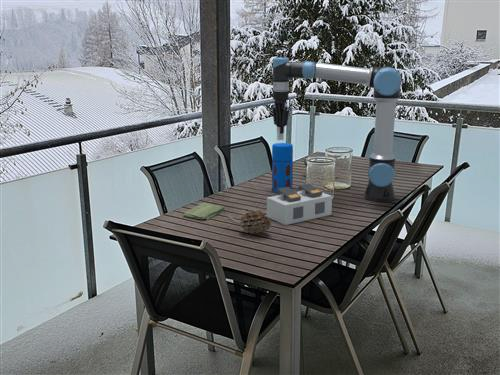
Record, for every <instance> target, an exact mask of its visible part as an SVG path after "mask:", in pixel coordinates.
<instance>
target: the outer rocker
mask: <svg viewBox="0 0 500 375" xmlns="http://www.w3.org/2000/svg"><path fill="white" fill-rule="evenodd" d="M294 191H295V190H294V189H293V188H292V189H291V188H289V187H284V188H278V189H277V192H278V193H277V194H279V195H280V194H283V195H284V198H285V199H286V200H287V201H289V202H293V201H298V200H301V196H300V195H298V194H297V193H296V192H297V191H295V192H294Z"/></svg>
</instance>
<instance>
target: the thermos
mask: <svg viewBox="0 0 500 375" xmlns="http://www.w3.org/2000/svg"><path fill="white" fill-rule="evenodd" d="M271 146H272V147H271V189H272V191H271V192H273V193H274V194H275V193H276V194H279V193H278V192H277V189H278V188H284V187H289V188H291V189H292V190H293V179H294V178H293V173H294V172H293V171H294V170H293V168H294V167H293V166H294V164H293V163H294V160H293V159H294V145H293V143H288V142H287V143H286V142H276V143H273V144H272V145H271Z"/></svg>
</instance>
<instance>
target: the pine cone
mask: <svg viewBox="0 0 500 375" xmlns="http://www.w3.org/2000/svg"><path fill="white" fill-rule="evenodd" d="M226 217H227V219H228V220H229V221H231V222H232V223H233V222H234V224H237V225H240V226H241V228H242V229H243V232H245V233H249V234H253V235H254V233H256V234H260V233H261V232H262V233H265V232H267V230H269V229H270V228H271V227H272V219H271V218H269V217H268V216H267V215H265V213H264V212H263V211H262V210H258V209H256V210H252V211H249V212H246V213H244V215H242V216H241V218H240V221H239V220H237V219H235V218H234V217H232V216H231V215H229V213H227V214H226ZM270 219H271V220H270Z"/></svg>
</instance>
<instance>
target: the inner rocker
mask: <svg viewBox="0 0 500 375" xmlns="http://www.w3.org/2000/svg"><path fill="white" fill-rule="evenodd" d="M297 188H298V189H299V190H300V191H302V190H305V191H306V194H307V195H309V196H310V197H315V196H320V195H322V192H323V191H322V190H320V189H319V188H318V187H316V188H315V186H314V185H313V184H311V183H305V184H300V185H298V187H297ZM317 188H318V189H317Z"/></svg>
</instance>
